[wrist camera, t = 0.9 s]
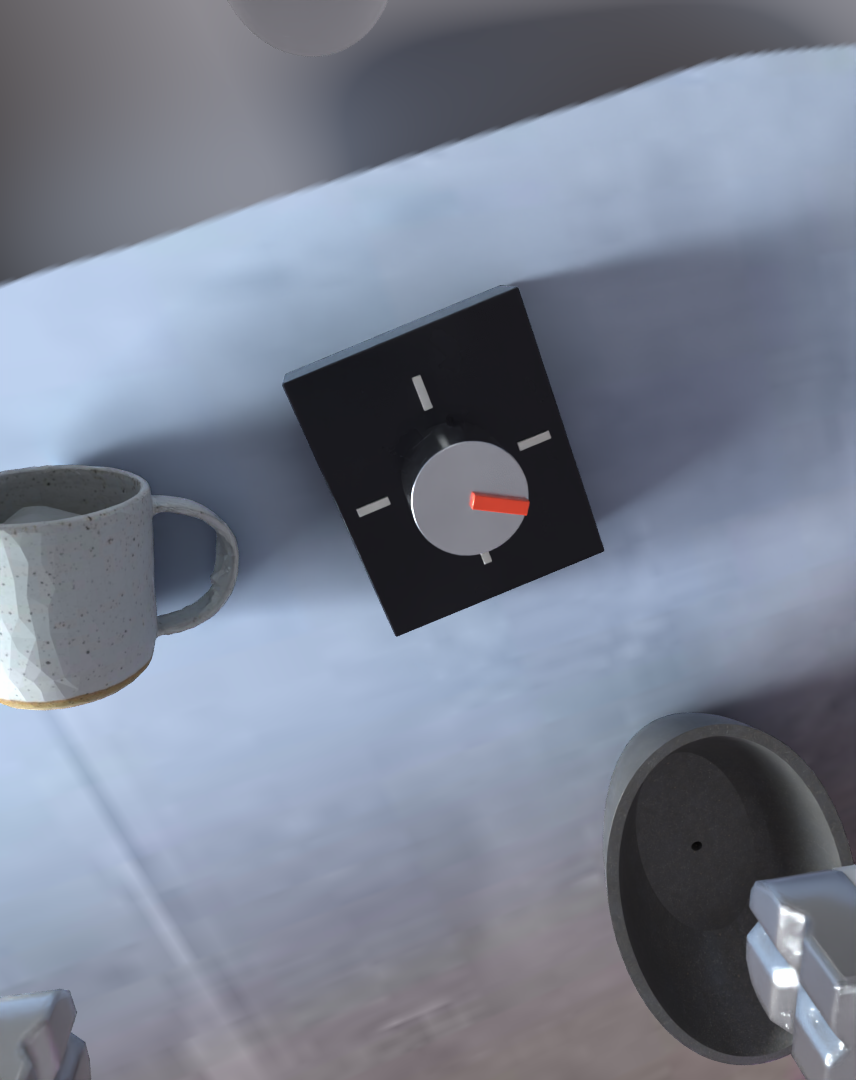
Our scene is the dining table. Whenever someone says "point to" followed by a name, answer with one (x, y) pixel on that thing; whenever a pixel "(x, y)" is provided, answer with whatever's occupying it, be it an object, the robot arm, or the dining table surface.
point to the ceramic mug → (87, 582)
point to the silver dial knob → (463, 488)
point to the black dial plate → (419, 403)
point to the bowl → (708, 870)
